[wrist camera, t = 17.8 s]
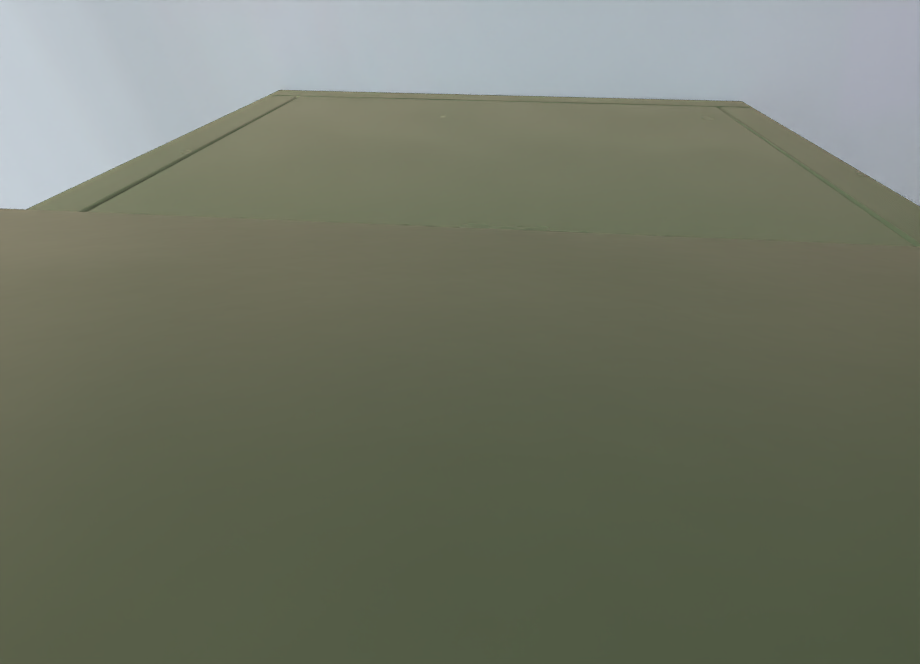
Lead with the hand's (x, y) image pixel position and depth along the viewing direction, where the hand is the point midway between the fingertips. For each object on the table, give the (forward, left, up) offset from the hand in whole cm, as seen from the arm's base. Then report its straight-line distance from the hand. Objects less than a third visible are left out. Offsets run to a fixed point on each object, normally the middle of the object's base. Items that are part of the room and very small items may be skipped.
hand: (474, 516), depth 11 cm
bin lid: (-7, 0, +8) cm, 10 cm away
